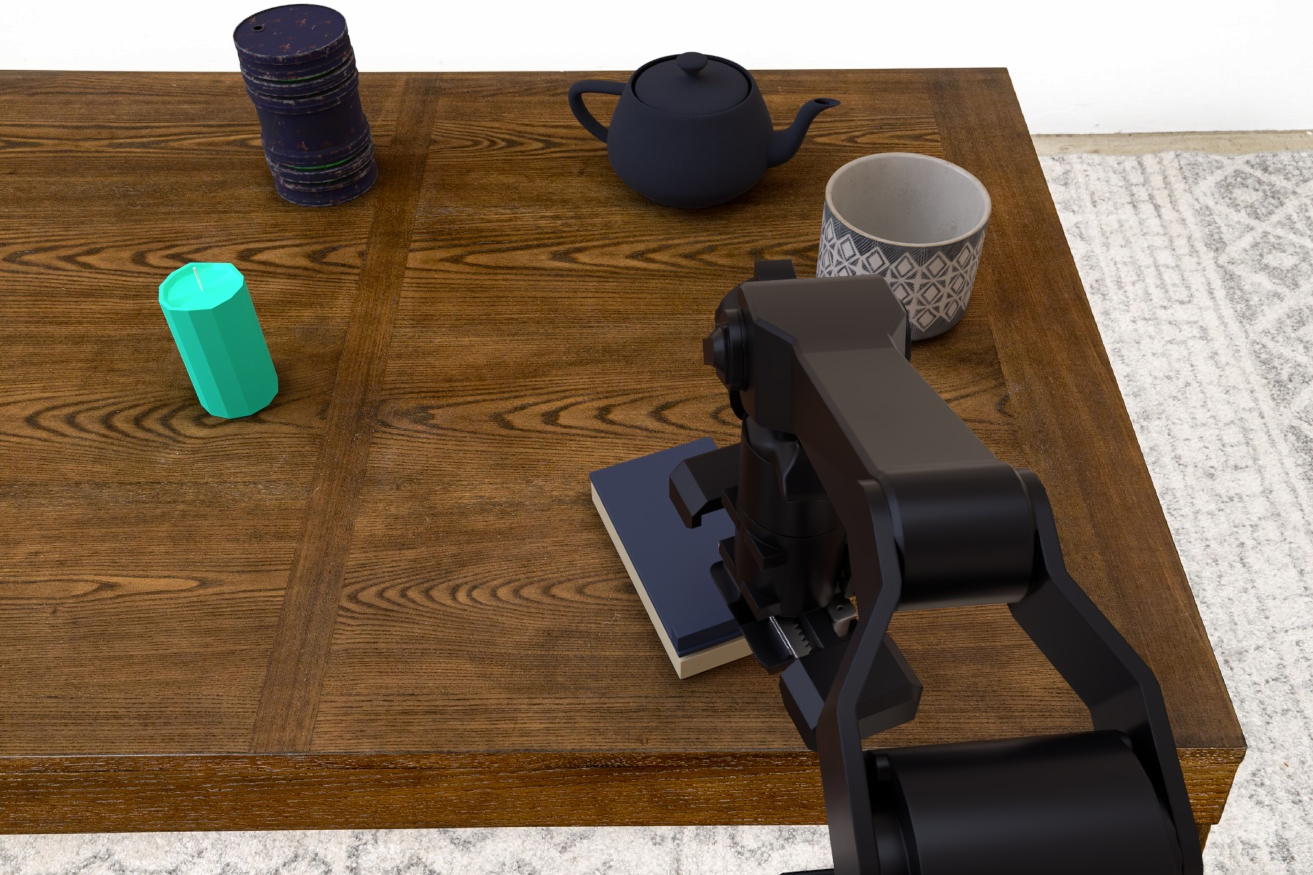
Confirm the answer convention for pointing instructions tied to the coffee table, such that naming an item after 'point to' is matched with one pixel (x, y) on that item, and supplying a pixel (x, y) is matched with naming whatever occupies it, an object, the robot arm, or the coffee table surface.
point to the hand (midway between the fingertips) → (775, 667)
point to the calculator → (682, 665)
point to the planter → (907, 232)
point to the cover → (670, 547)
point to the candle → (219, 338)
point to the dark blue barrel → (307, 103)
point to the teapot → (692, 129)
